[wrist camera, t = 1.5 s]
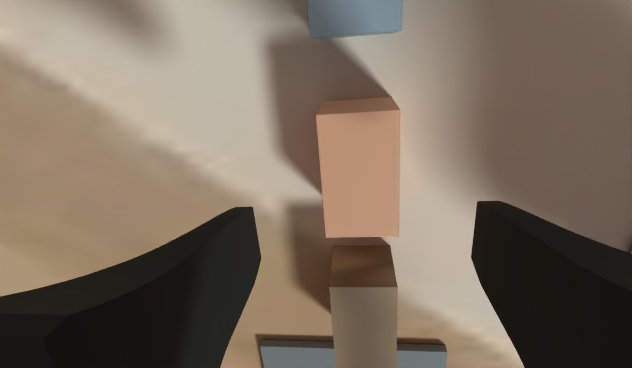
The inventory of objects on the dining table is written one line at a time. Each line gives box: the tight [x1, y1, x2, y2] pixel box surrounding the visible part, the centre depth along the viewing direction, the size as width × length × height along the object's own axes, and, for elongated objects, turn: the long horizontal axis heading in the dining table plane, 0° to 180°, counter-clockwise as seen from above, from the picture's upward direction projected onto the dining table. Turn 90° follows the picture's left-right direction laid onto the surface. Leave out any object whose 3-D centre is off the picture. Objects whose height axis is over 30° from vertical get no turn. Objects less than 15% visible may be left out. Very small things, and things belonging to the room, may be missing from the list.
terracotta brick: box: [316, 97, 400, 238], centre depth 17 cm, size 4×6×4 cm, turn 5°
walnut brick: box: [329, 246, 397, 368], centre depth 20 cm, size 4×6×4 cm, turn 5°
